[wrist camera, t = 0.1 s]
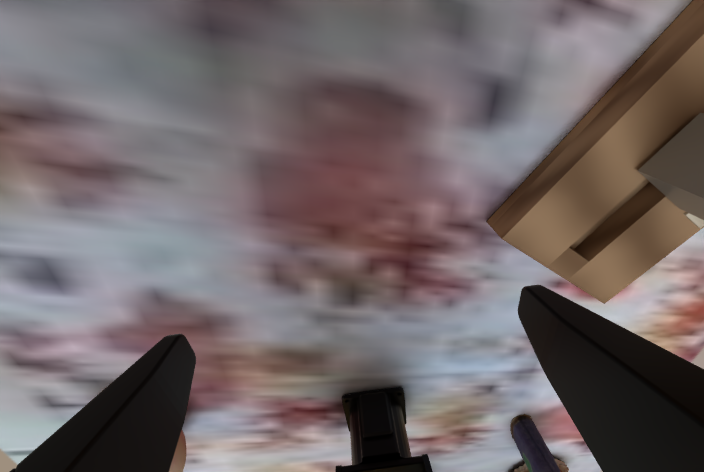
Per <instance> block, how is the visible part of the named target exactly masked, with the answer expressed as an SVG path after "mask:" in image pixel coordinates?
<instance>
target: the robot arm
mask: <svg viewBox="0 0 704 472" xmlns="http://www.w3.org/2000/svg"><path fill="white" fill-rule="evenodd" d="M518 315H519V318H520V321H521V323H522V325H523V327H524V329H525V332H526V334H527V336H528V338H529V340H530V343H531V345H532V347H533V349H534V351H535V354H536V356H537V358H538V360H539V362H540V364H541V366H542V368H543V370H544V372H545V374H546V376H547V378H548V380H549V381H550V383H551V385H552V386H553V388H554V390H555V391H556V393H557V395H558V397H559V398H560V400H561V402H562V403H563V405H564V407H565V408H566V410H567V412H568V414H569V415H570V417H571V419H572V420H573V422H574V424H575V425H576V427H577V429H578V430H579V432H580V434H581V436H582V437H583V439H584V441H585V442H586V444H587V446H588V447H589V449H590V451H591V452H592V454H593V456H594V458H595V459H596V461H597V463H598V464H599V466H600V468H601V469H602V471H603V472H704V369H702V368H700V367H698V366H696V365H694V364H692V363H690V362H688V361H687V360H685V359H683V358H681V357H679V356H677V355H675V354H673V353H671V352H669V351H667V350H665V349H663V348H661V347H659V346H658V345H656V344H654V343H652V342H650V341H648V340H646V339H644V338H642V337H640V336H638V335H636V334H634V333H632V332H631V331H629V330H627V329H625V328H623V327H621V326H619V325H617V324H615V323H613V322H611V321H609V320H607V319H605V318H603V317H602V316H600V315H598V314H596V313H594V312H592V311H590V310H588V309H586V308H584V307H582V306H580V305H578V304H576V303H574V302H573V301H571V300H569V299H567V298H565V297H563V296H561V295H559V294H557V293H555V292H553V291H551V290H549V289H547V288H545V287H544V286H541V285H532V286H525V287H524V288H523V289H522V291H521V296H520V301H519V306H518ZM195 364H196V356H195V353H194V351H193V349H192V348H191V346H190V344H189V342H188V340H187V339H186V337H185V336H184V335H183V334H175V335H168V336H166V337H164V338H163V339H162V340H161V341H159V342H158V343H157V344H156V345H155V346H154V347H152V348H151V349H150V350H149V351H148V352H147V353H146V354H144V355H143V356H142V357H141V358H140V359H139V360H138V361H136V362H135V363H134V364H133V365H132V366H131V367H130V368H128V369H127V370H126V371H125V372H124V373H123V374H121V375H120V376H119V377H118V378H117V379H116V380H115V381H113V382H112V383H111V384H110V385H109V386H108V387H107V388H105V389H104V390H103V391H102V392H101V393H100V394H99V395H97V396H96V397H95V398H94V399H93V400H92V401H90V402H89V403H88V404H87V405H86V406H85V407H84V408H82V409H81V410H80V411H79V412H78V413H77V414H76V415H74V416H73V417H72V418H71V419H70V420H69V421H67V422H66V423H65V424H64V425H63V426H62V427H61V428H59V429H58V430H57V431H56V432H55V433H54V434H53V435H51V436H50V437H49V438H48V439H47V440H46V441H44V442H43V443H42V444H41V445H40V446H39V447H38V448H36V449H35V450H34V451H33V452H32V453H31V454H30V455H28V456H27V457H26V458H25V459H24V460H23V461H21V462H20V463H19V464H18V465H17V467H16V469H12V470H11V471H10V472H169V470H170V467H171V463H172V460H173V457H174V453H175V450H176V447H177V443H178V440H179V437H180V434H181V430H182V427H183V423H184V419H185V415H186V410H187V405H188V400H189V395H190V390H191V384H192V379H193V374H194V369H195ZM342 403H343V407H344V411H345V416H346V420H347V424H348V428H349V431H350V435H351V451H352V465H349V466H342V465H341V466H336V472H432V468H431V465H430V461H429V458H428V455H427V454H423V455H422V456H416V457H411V452H410V448H409V443H408V438H407V433H406V428H405V424H406V411H405V396H404V390H403V388H401V387H398V388H391V389H384V390H376V391H369V392H362V393H355V394H347V395H344V396H343V397H342Z"/></svg>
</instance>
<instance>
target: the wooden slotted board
mask: <svg viewBox="0 0 704 472" xmlns="http://www.w3.org/2000/svg"><path fill="white" fill-rule="evenodd" d="M700 113H704V0H693V1H692V2H691V3H690V4H689V5H688V6H687V8H686V9H685V10H684V11H683V12H682V13H681V14H680V15H679V16H678V17H677V18H676V19H675V20H674V21H673V22H672V24H671V25H670V26H669V27H668V28H667V29H666V30H665V31H664V32H663V33H662V34H661V35H660V36H659V37H658V39H657V40H656V41H655V42H654V43H653V44H652V45H651V46H650V47H649V48H648V49H647V50H646V51H645V52H644V54H643V55H642V56H641V57H640V58H639V59H638V60H637V61H636V62H635V63H634V64H633V65H632V66H631V67H630V69H629V70H628V71H627V72H626V73H625V74H624V75H623V76H622V77H621V78H620V79H619V80H618V81H617V82H616V84H615V85H614V86H613V87H612V88H611V89H610V90H609V91H608V92H607V93H606V94H605V95H604V96H603V97H602V99H601V100H600V101H599V102H598V103H597V104H596V105H595V106H594V107H593V108H592V109H591V110H590V111H589V112H588V114H587V115H586V116H585V117H584V118H583V119H582V120H581V121H580V122H579V123H578V124H577V125H576V126H575V127H574V128H573V130H572V131H571V132H570V133H569V134H568V135H567V136H566V137H565V138H564V139H563V140H562V141H561V142H560V143H559V145H558V146H557V147H556V148H555V149H554V150H553V151H552V152H551V153H550V154H549V155H548V156H547V157H546V158H545V160H544V161H543V162H542V163H541V164H540V165H539V166H538V167H537V168H536V169H535V170H534V171H533V172H532V173H531V175H530V176H529V177H528V178H527V179H526V180H525V181H524V182H523V183H522V184H521V185H520V186H519V187H518V188H517V190H516V191H515V192H514V193H513V194H512V195H511V196H510V197H509V198H508V199H507V200H506V201H505V202H504V203H503V205H502V206H501V207H500V208H499V209H498V210H497V211H496V212H495V213H494V214H493V215H492V216H491V217H490V218H489V220H488V221H487V223H488V224H489V225H490V226H491V227H492V228H493V230H494V231H495V232H496V233H497V234H498V235H499V236H500V237H501V239H503V240H504V241H506V242H507V243H509V244H511V245H512V246H514V247H515V248H517V249H519V250H520V251H522V252H523V253H525V254H526V255H528V256H530V257H531V258H533V259H534V260H536V261H537V262H539V263H541V264H542V265H544V266H545V267H547V268H549V269H550V270H552V271H553V272H555V273H556V274H558V275H560V276H561V277H563V278H564V279H566V280H568V281H569V282H571V283H572V284H574V285H575V286H577V287H579V288H580V289H582V290H583V291H585V292H587V293H588V294H590V295H591V296H593V297H594V298H596V299H598V300H599V301H601V302H602V303H604V304H605V303H606V302H607V301H608V300H610V299H611V298H612V297H614V296H615V295H616V294H618V293H619V292H620V291H621V290H623V289H624V288H625V287H627V286H628V285H629V284H631V283H632V282H633V281H634V280H636V279H637V278H638V277H640V276H641V275H642V274H643V273H645V272H646V271H647V270H649V269H650V268H651V267H653V266H654V265H655V264H656V263H658V262H659V261H660V260H662V259H663V258H664V257H666V256H667V255H668V254H669V253H671V252H672V251H673V250H675V249H676V248H677V247H678V246H680V245H681V244H682V243H684V242H685V241H686V240H688V239H689V238H690V237H691V236H693V235H694V234H695V233H697V232H698V231H699V230H700V229H702V228H703V227H704V220H702V219H700V218H698V217H696V216H694V215H692V214H690V213H688V212H685V211H683V210H681V209H679V208H678V207H677V206H676V205H675V204H674V203H673V202H671V201H670V200H669V199H668V198H667V197H666V196H665V195H664V194H663V193H662V192H660V191H659V190H658V189H657V188H656V187H655V186H654V185H653V184H652V183H651V182H649V181H648V180H647V179H646V178H645V177H644V176H643V175H642V174H641V173H640V172H638V170H639V169H640V168H641V167H642V166H643V165H644V164H645V163H646V162H647V161H648V160H649V159H651V158H652V157H653V156H654V155H655V154H656V153H657V152H658V151H659V150H660V149H661V148H663V147H664V146H665V145H666V144H667V143H668V142H669V141H670V140H671V139H672V138H673V137H675V136H676V135H677V134H678V133H679V132H680V131H681V130H682V129H683V128H684V127H685V126H686V125H688V124H689V123H690V122H691V121H692V120H693V119H694V118H695V117H696V116H697V115H698V114H700Z"/></svg>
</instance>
